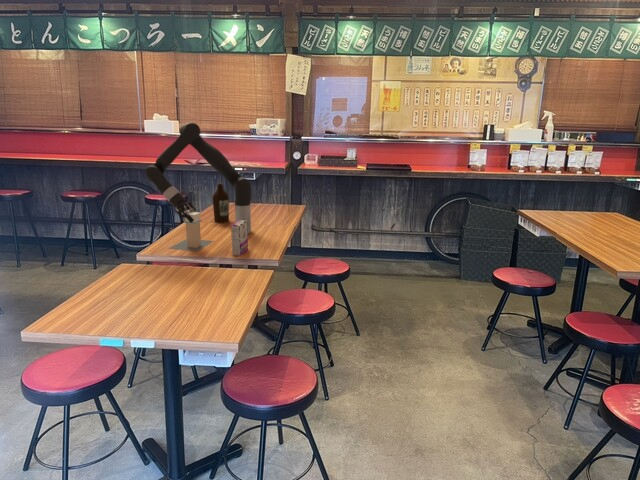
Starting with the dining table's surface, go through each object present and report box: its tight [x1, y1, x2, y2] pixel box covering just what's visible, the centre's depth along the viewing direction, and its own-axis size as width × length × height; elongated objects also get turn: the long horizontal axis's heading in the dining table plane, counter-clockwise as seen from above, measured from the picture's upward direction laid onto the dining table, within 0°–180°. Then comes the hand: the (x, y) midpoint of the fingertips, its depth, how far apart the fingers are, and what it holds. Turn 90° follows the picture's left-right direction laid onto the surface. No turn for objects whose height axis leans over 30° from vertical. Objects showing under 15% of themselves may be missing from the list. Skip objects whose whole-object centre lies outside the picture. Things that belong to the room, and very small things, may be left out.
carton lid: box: [184, 211, 202, 224], centre depth 259 cm, size 6×6×5 cm
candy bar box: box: [230, 220, 249, 256], centre depth 254 cm, size 11×5×16 cm, turn 168°
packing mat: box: [167, 238, 215, 252], centre depth 266 cm, size 20×17×1 cm
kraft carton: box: [185, 222, 202, 248], centre depth 262 cm, size 5×5×13 cm
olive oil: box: [211, 182, 230, 223], centre depth 319 cm, size 11×11×25 cm
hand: (195, 220), depth 259 cm, fingers closed on carton lid, 6 cm apart
